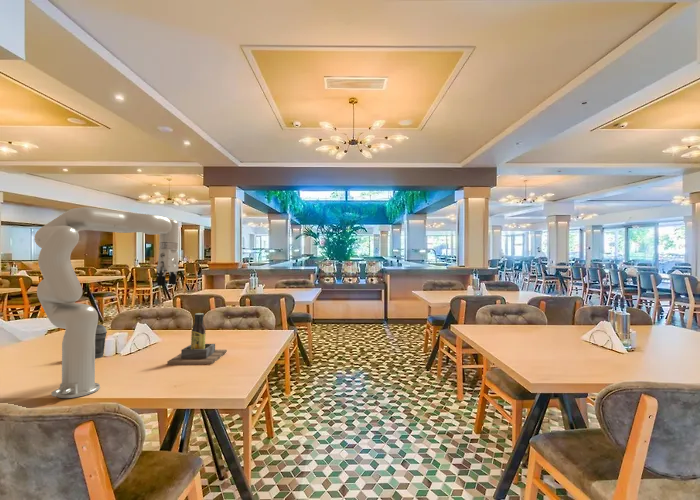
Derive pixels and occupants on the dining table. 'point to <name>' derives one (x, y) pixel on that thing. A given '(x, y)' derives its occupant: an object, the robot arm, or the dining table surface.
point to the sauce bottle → (198, 333)
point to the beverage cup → (100, 341)
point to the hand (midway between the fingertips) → (167, 284)
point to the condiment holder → (197, 356)
